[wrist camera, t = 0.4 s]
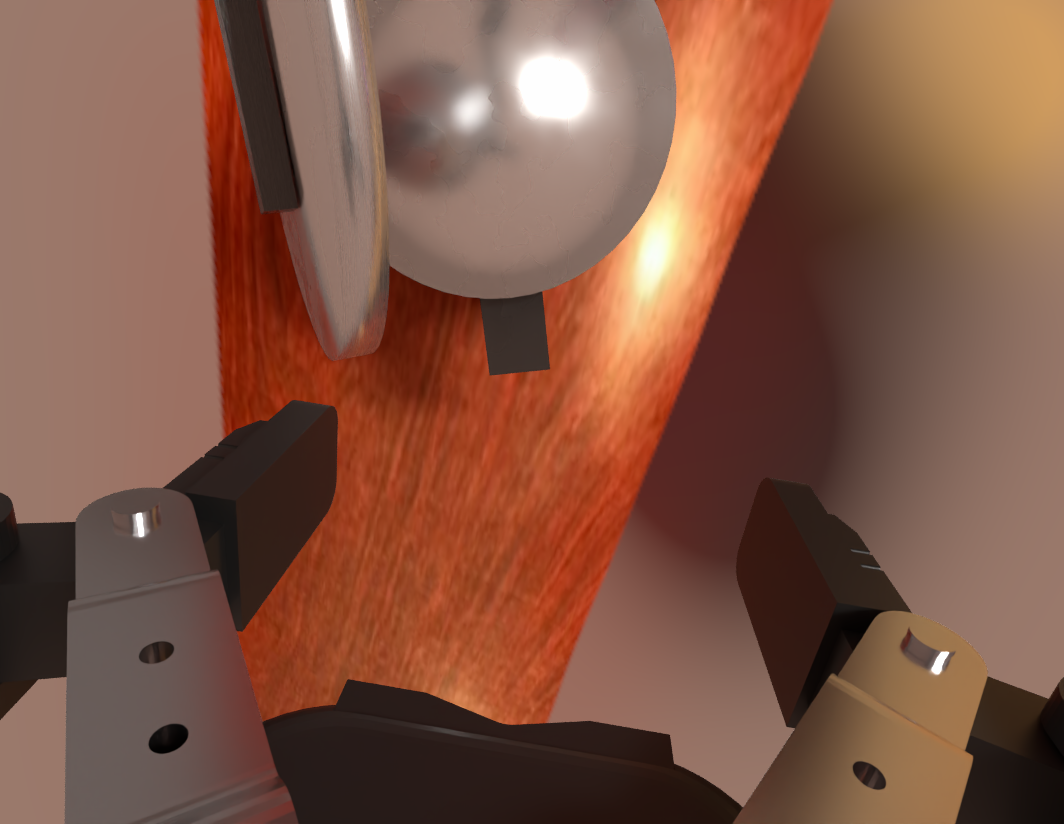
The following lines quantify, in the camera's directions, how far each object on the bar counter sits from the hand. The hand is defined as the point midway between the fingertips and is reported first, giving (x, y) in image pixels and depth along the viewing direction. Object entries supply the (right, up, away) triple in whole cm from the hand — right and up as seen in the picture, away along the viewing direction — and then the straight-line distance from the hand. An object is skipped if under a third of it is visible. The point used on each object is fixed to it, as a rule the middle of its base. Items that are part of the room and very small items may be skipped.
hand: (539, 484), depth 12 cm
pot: (-2, +17, +25) cm, 30 cm away
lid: (-7, +12, +9) cm, 16 cm away
